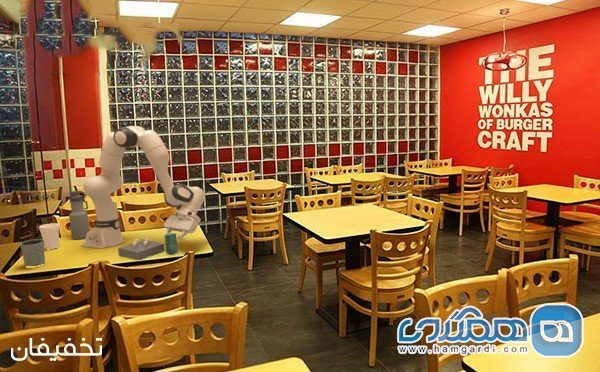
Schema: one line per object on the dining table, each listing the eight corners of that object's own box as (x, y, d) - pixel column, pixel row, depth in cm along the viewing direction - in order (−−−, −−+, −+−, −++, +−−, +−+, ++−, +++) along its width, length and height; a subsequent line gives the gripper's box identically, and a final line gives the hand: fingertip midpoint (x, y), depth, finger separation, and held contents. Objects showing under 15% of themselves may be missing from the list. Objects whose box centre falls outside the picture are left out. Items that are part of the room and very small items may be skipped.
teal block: (166, 253, 231) (164, 234, 229) (172, 251, 234) (170, 232, 232) (171, 254, 229) (169, 235, 227) (177, 252, 232) (176, 233, 230)
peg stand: (118, 255, 231) (117, 242, 230) (145, 247, 244) (143, 234, 243) (138, 260, 222) (137, 246, 221) (164, 251, 235) (163, 238, 234)
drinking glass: (36, 261, 227) (32, 238, 225) (52, 262, 224) (49, 239, 222) (18, 268, 217) (14, 244, 215) (35, 269, 215) (31, 245, 213)
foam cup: (41, 252, 243) (38, 228, 241) (43, 247, 251) (40, 224, 249) (61, 249, 247) (58, 226, 244) (62, 244, 255) (59, 222, 253)
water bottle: (82, 234, 276) (76, 189, 271) (94, 235, 272) (88, 189, 267) (68, 239, 266) (62, 192, 262) (80, 240, 263) (74, 193, 258)
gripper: (169, 210, 241) (155, 232, 235) (196, 213, 230) (183, 237, 224) (176, 216, 246) (163, 238, 239) (203, 220, 234) (190, 243, 228)
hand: (173, 237), depth 231 cm, fingers open, 8 cm apart
